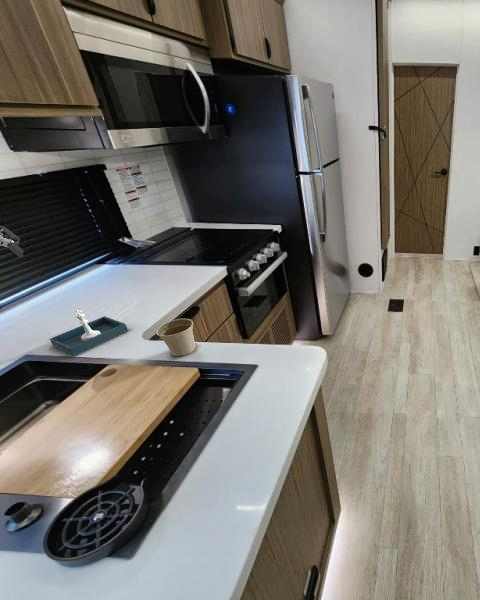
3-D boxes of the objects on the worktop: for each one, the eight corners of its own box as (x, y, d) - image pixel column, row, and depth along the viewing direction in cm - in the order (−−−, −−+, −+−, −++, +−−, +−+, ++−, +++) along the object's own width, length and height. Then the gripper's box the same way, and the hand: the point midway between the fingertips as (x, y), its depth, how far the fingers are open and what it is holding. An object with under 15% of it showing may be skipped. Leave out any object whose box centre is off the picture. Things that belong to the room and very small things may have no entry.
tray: (74, 356, 99) (69, 348, 98) (53, 346, 104) (49, 338, 103) (128, 330, 111) (125, 323, 110) (107, 322, 116) (104, 316, 115)
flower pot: (186, 361, 96) (176, 337, 92) (158, 358, 98) (147, 334, 94) (208, 343, 105) (200, 319, 101) (182, 340, 106) (173, 317, 102)
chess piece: (77, 339, 106) (62, 312, 101) (93, 331, 110) (79, 305, 105) (89, 341, 105) (74, 314, 100) (104, 333, 109) (91, 306, 104)
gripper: (-85, 216, 87) (-29, 260, 89) (-13, 204, 99) (34, 244, 101) (-84, 234, 90) (-30, 276, 93) (-14, 221, 103) (31, 259, 105)
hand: (3, 259), depth 97 cm, fingers open, 8 cm apart
